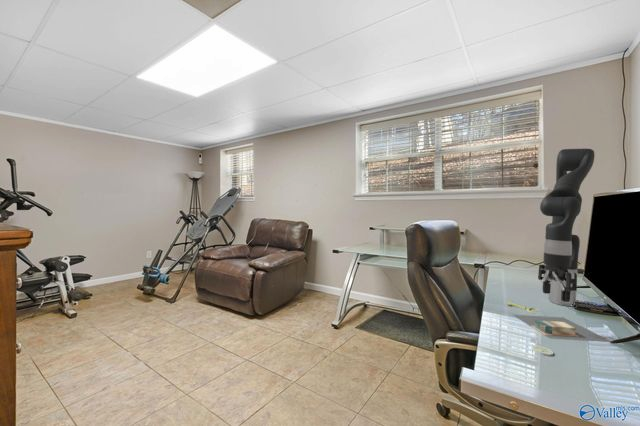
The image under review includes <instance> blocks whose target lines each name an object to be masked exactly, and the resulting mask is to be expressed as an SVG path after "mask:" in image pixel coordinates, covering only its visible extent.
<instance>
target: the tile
mask: <svg viewBox="0 0 640 426" xmlns="http://www.w3.org/2000/svg"><path fill="white" fill-rule="evenodd" d="M535 327H536V328H537V329H539V330H540V331H542V332H544V333H548V334H565V335H575V330H576V328H574V327H573V326H571V325H569V324H567V323H565V322H556V321H540V320H535Z"/></svg>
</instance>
